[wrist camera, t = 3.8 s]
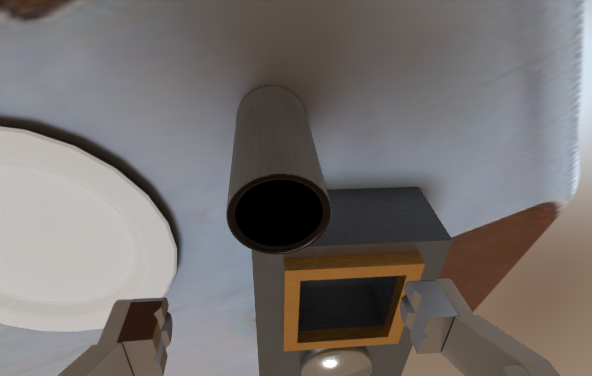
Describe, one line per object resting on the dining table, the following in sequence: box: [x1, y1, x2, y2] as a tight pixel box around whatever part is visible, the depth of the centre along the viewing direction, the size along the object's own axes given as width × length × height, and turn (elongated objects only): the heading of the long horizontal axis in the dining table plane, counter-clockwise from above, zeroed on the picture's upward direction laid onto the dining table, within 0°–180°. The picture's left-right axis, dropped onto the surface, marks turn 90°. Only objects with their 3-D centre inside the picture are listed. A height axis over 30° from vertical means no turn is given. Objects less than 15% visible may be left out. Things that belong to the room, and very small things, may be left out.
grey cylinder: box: [227, 86, 331, 254], centre depth 20 cm, size 4×4×10 cm
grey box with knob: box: [252, 187, 452, 376], centre depth 30 cm, size 18×13×7 cm
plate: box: [0, 125, 177, 332], centre depth 28 cm, size 21×21×2 cm
